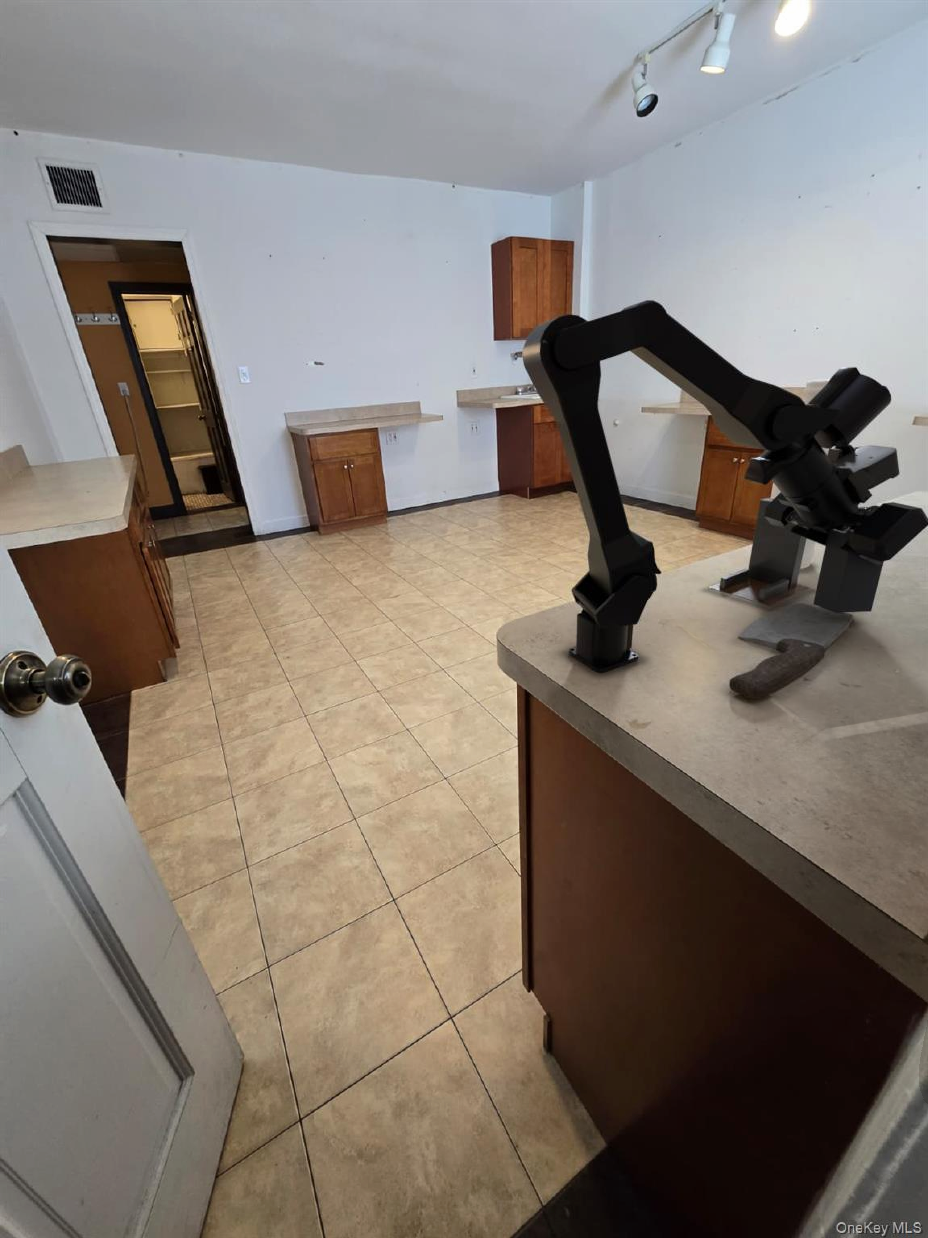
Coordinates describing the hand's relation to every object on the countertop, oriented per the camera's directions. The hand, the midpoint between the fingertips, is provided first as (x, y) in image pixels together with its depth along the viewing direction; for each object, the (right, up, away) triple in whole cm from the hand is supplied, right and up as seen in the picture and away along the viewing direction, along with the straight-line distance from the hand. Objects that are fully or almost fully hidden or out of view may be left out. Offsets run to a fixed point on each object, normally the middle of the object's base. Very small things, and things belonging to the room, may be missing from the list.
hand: (865, 557), depth 66 cm
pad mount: (-5, -3, +16) cm, 17 cm away
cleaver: (-12, -12, -1) cm, 17 cm away
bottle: (+5, +2, +25) cm, 26 cm away
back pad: (-2, -6, +2) cm, 7 cm away
